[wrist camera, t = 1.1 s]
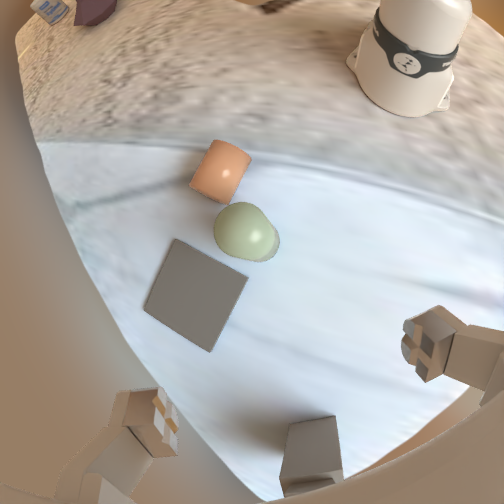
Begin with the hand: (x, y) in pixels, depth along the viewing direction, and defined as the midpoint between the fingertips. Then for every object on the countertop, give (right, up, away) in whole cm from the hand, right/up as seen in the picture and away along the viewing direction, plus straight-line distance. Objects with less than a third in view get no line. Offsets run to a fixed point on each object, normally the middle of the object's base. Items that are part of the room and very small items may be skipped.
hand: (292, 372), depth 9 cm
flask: (-44, +72, +46) cm, 96 cm away
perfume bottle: (+8, -24, +28) cm, 38 cm away
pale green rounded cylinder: (0, +5, +32) cm, 32 cm away
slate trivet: (-10, -2, +33) cm, 34 cm away
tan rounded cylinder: (-5, +15, +33) cm, 37 cm away
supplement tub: (-72, +91, +53) cm, 127 cm away
